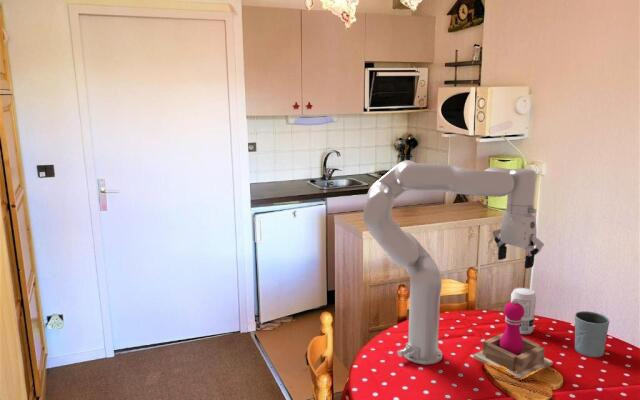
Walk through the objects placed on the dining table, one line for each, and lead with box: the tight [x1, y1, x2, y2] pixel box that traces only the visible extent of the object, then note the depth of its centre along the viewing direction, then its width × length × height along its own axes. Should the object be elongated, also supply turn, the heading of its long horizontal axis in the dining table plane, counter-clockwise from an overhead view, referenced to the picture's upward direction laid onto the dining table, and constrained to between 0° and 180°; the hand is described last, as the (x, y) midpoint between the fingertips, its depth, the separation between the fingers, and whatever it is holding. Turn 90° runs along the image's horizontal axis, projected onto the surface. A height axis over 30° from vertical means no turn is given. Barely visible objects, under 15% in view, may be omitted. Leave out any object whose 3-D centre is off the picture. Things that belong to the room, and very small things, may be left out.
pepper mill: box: [500, 298, 524, 356], centre depth 158 cm, size 7×7×20 cm
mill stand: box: [473, 332, 553, 378], centre depth 159 cm, size 17×17×6 cm
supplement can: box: [510, 287, 537, 335], centre depth 180 cm, size 8×8×15 cm
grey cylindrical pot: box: [574, 310, 610, 358], centre depth 165 cm, size 10×10×12 cm
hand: (515, 263), depth 155 cm, fingers open, 9 cm apart
